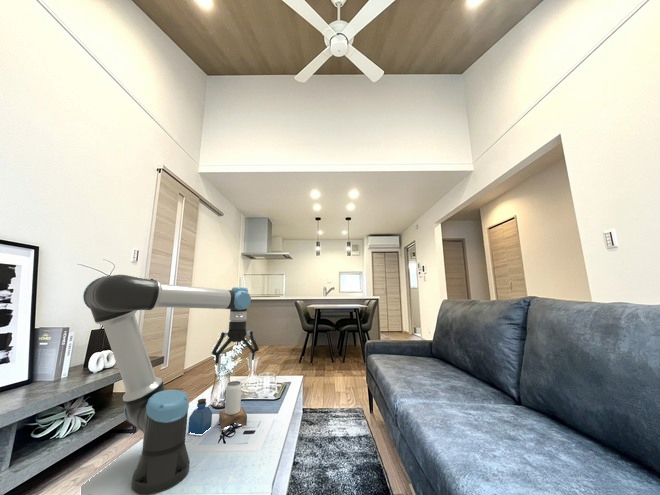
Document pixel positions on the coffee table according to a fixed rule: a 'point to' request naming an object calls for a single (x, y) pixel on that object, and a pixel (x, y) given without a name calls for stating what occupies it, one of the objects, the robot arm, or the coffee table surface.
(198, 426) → the perfume bottle
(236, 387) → the can
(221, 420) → the plinth
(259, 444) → the coffee table surface
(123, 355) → the robot arm
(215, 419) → the coffee table surface
